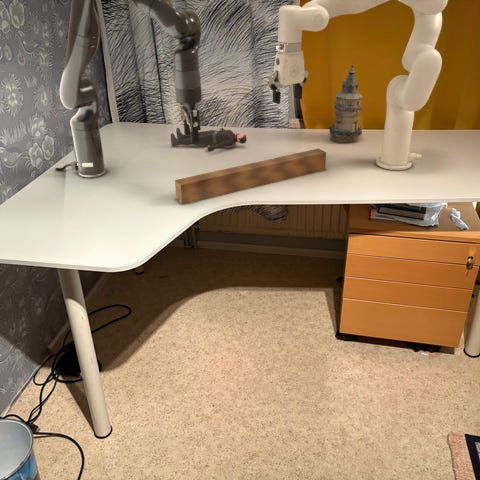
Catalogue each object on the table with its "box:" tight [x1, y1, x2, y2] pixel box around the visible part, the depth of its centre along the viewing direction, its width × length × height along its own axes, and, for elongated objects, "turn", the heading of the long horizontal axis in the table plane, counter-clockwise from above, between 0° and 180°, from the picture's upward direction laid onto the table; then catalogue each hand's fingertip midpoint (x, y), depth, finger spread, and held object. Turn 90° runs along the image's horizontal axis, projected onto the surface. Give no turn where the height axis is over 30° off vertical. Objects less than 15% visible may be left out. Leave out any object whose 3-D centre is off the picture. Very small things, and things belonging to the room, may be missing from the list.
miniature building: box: [328, 63, 363, 143], centre depth 214 cm, size 13×14×30 cm
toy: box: [170, 127, 248, 153], centre depth 215 cm, size 26×6×30 cm
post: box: [174, 148, 327, 205], centre depth 181 cm, size 56×5×7 cm, turn 119°
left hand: (191, 138), depth 164 cm, fingers open, 8 cm apart
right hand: (287, 100), depth 180 cm, fingers open, 9 cm apart
